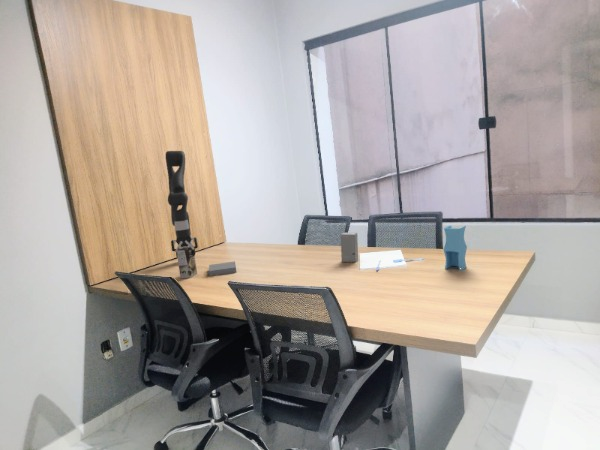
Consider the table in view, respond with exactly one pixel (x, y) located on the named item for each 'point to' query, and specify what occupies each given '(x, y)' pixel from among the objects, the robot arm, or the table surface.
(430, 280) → the table surface
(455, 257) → the vase
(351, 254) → the skincare box
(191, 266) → the coffee box
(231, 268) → the riser
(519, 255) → the table surface
